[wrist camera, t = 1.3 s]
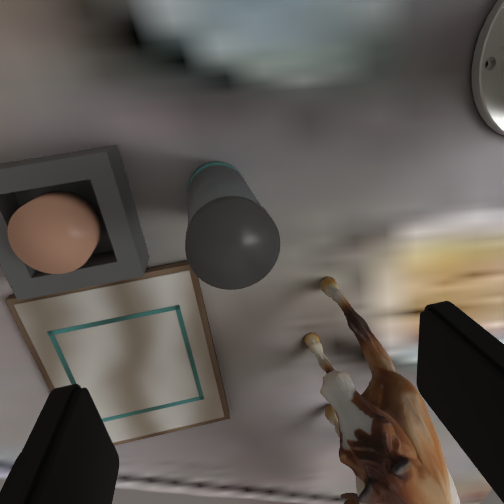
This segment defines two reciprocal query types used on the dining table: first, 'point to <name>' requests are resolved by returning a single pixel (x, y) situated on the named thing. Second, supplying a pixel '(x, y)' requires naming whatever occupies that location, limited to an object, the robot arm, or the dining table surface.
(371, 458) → the horse figurine
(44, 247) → the button
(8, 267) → the button base
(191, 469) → the dining table surface
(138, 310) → the board
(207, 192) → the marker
